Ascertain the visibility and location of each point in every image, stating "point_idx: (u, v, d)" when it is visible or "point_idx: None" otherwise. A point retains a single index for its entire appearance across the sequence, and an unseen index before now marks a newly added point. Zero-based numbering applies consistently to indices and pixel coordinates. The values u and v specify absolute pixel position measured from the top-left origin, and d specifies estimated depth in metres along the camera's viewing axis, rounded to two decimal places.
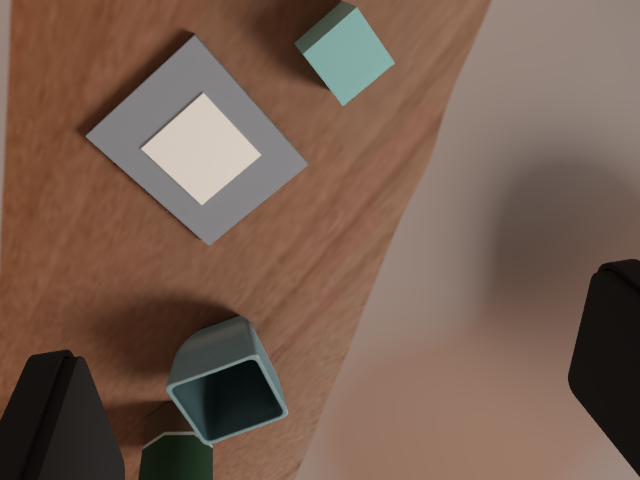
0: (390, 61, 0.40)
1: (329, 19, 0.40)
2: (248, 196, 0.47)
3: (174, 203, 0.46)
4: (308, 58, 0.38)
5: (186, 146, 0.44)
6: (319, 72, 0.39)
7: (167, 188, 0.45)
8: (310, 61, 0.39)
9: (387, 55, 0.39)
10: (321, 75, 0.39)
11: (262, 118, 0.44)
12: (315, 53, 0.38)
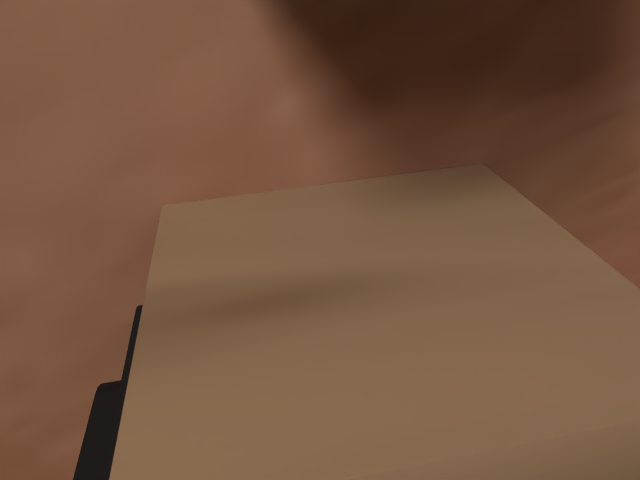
0: None
1: None
2: None
3: None
4: None
5: None
6: None
7: None
8: None
9: None
10: None
11: None
12: None
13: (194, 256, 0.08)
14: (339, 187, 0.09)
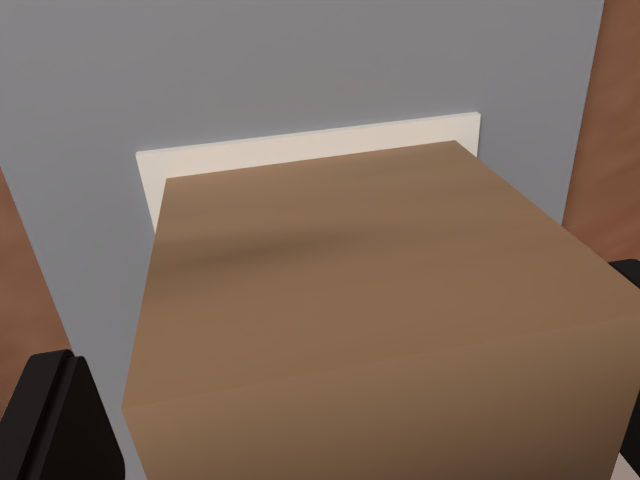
0: None
1: None
2: (302, 12, 0.10)
3: (536, 175, 0.12)
4: None
5: None
6: None
7: None
8: None
9: None
10: None
11: (57, 267, 0.11)
12: None
13: (196, 218, 0.09)
14: (325, 161, 0.11)
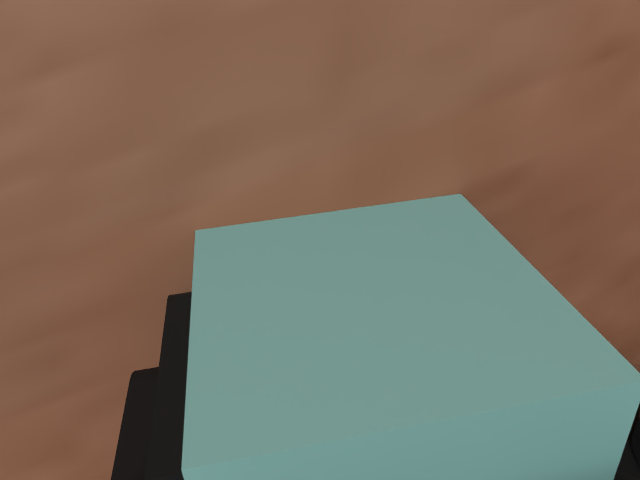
0: None
1: None
2: None
3: None
4: None
5: None
6: None
7: None
8: None
9: None
10: None
11: None
12: None
13: None
14: None
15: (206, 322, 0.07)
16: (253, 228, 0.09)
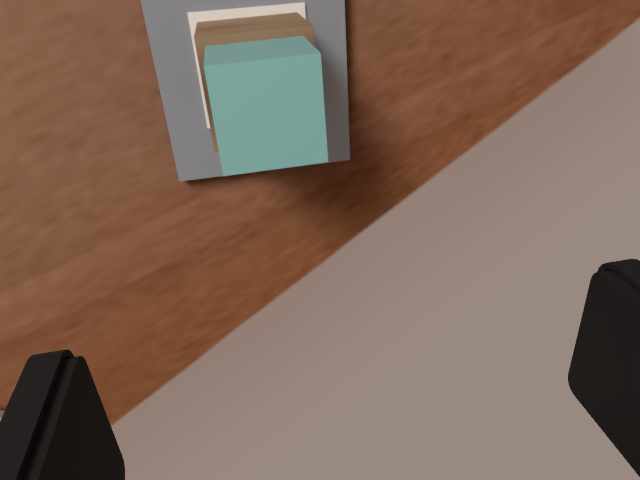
0: (209, 73, 0.22)
1: None
2: None
3: (331, 29, 0.33)
4: (324, 152, 0.25)
5: None
6: (322, 125, 0.24)
7: (324, 53, 0.33)
8: (324, 147, 0.25)
9: (210, 85, 0.22)
10: (322, 119, 0.24)
11: (158, 56, 0.32)
12: (312, 152, 0.25)
13: (207, 25, 0.29)
14: (250, 17, 0.31)
15: (209, 55, 0.24)
16: (225, 44, 0.26)
